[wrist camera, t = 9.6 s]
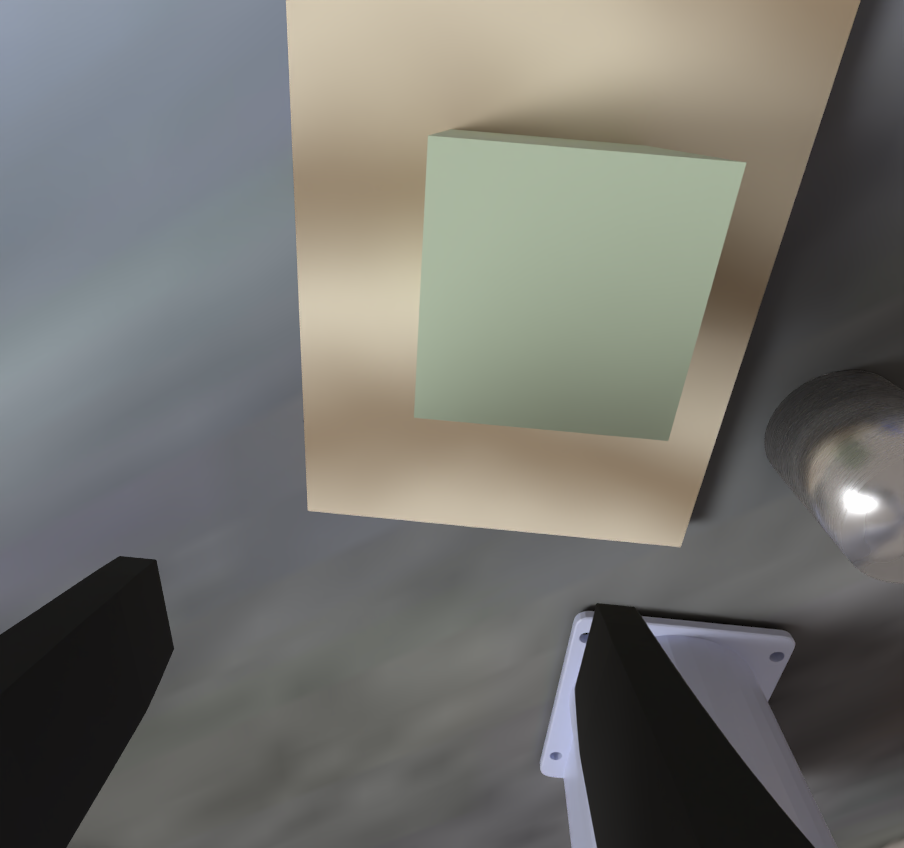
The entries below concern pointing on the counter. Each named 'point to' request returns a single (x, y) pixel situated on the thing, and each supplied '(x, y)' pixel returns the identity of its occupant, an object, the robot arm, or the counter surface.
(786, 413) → the metal cylinder
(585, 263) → the sage block
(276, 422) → the counter surface
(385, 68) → the birch board
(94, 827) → the counter surface
